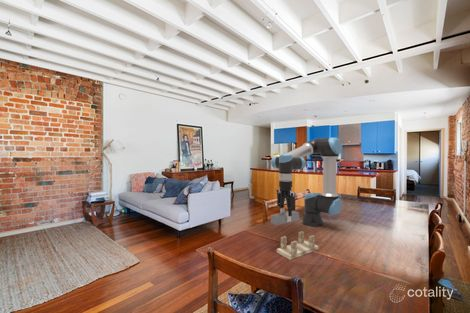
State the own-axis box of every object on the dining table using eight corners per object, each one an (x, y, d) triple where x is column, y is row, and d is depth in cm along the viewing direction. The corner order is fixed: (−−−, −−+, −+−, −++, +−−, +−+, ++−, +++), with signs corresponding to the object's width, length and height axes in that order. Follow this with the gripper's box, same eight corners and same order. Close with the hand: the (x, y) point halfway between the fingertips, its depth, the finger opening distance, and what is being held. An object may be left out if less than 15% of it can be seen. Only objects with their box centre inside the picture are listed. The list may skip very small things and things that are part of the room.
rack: (304, 243, 134) (304, 230, 134) (318, 249, 126) (318, 235, 126) (276, 252, 123) (276, 238, 122) (290, 259, 114) (290, 244, 114)
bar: (293, 218, 138) (293, 210, 138) (299, 220, 134) (299, 212, 134) (270, 222, 128) (270, 215, 128) (276, 225, 125) (276, 216, 124)
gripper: (270, 179, 136) (270, 217, 137) (291, 182, 121) (291, 225, 122) (280, 178, 140) (280, 215, 141) (301, 181, 125) (301, 223, 126)
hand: (285, 220), depth 131 cm, fingers closed on bar, 4 cm apart
